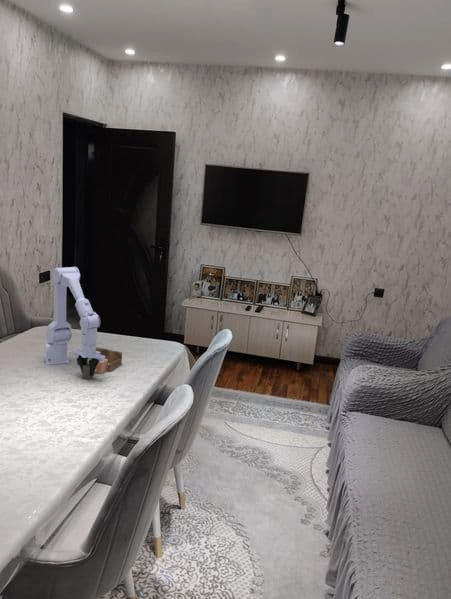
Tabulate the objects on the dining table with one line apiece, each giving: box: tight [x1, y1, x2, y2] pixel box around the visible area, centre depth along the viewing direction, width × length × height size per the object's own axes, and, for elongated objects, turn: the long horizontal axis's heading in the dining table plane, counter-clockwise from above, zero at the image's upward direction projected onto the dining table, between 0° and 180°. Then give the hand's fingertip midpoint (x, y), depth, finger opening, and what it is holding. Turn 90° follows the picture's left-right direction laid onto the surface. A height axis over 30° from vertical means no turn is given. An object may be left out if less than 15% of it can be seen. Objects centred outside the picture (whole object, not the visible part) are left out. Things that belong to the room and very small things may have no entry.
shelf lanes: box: [76, 346, 123, 373], centre depth 209 cm, size 17×10×6 cm, turn 73°
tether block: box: [81, 359, 109, 380], centre depth 198 cm, size 5×13×6 cm, turn 163°
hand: (87, 374), depth 193 cm, fingers closed on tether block, 3 cm apart
